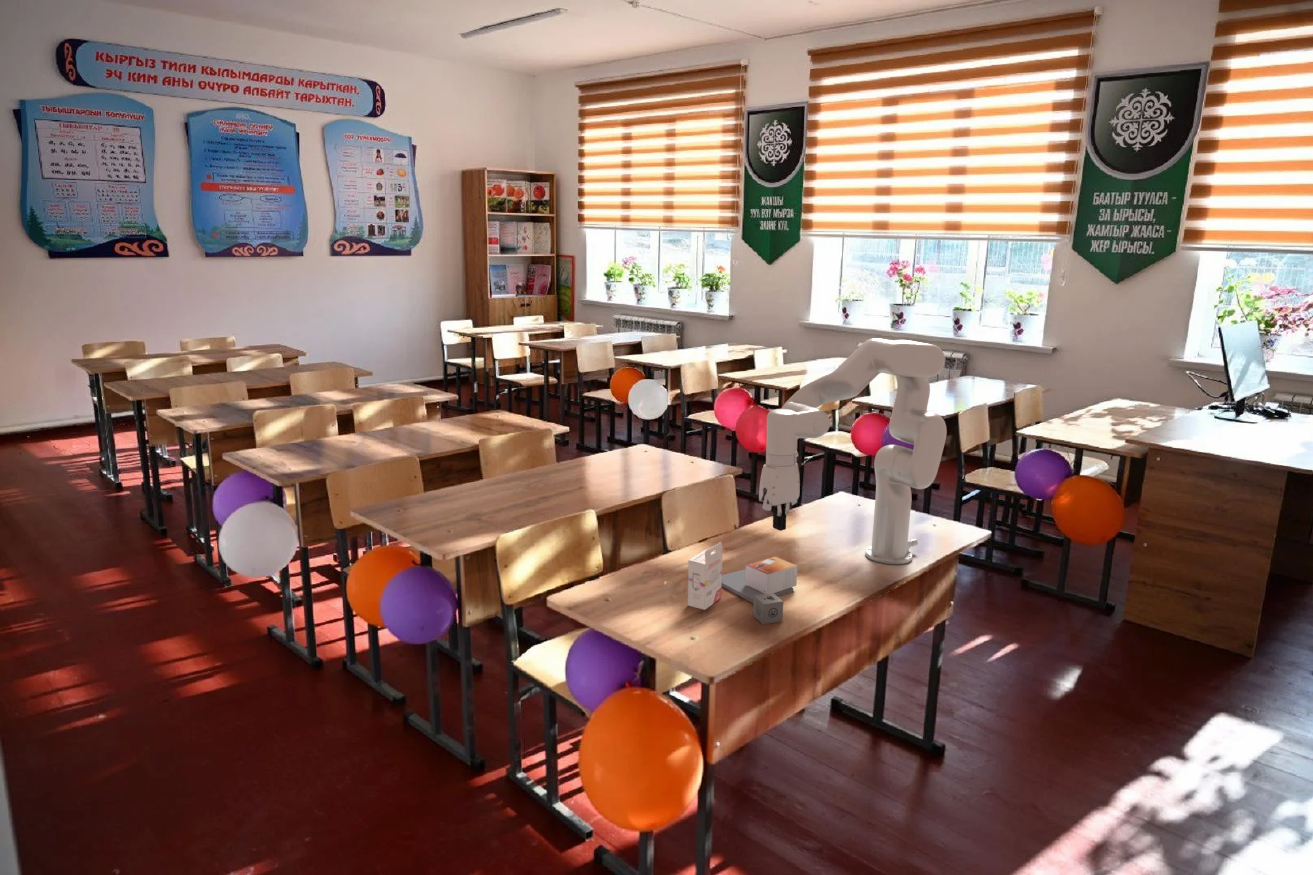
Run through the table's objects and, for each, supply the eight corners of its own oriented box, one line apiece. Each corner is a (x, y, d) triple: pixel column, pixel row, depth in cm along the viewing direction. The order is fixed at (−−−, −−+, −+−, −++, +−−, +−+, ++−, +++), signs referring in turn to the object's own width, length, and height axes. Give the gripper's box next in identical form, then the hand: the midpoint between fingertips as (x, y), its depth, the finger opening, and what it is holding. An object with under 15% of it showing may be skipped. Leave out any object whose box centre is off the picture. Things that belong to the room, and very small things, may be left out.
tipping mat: (751, 571, 228) (751, 567, 228) (793, 591, 215) (793, 588, 215) (712, 581, 221) (712, 577, 221) (753, 603, 208) (753, 599, 208)
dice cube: (782, 621, 199) (783, 601, 198) (762, 624, 197) (763, 604, 196) (772, 612, 203) (773, 592, 202) (752, 615, 202) (753, 595, 200)
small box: (798, 565, 215) (768, 574, 209) (797, 586, 216) (767, 596, 210) (775, 555, 221) (745, 564, 215) (774, 576, 222) (744, 585, 216)
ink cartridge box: (703, 593, 213) (705, 537, 210) (721, 598, 211) (723, 541, 207) (686, 605, 206) (687, 547, 203) (704, 610, 204) (706, 551, 200)
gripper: (793, 451, 222) (790, 519, 226) (748, 460, 214) (747, 530, 218) (813, 457, 216) (811, 527, 220) (768, 467, 208) (766, 539, 212)
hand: (779, 528), depth 219 cm, fingers closed
